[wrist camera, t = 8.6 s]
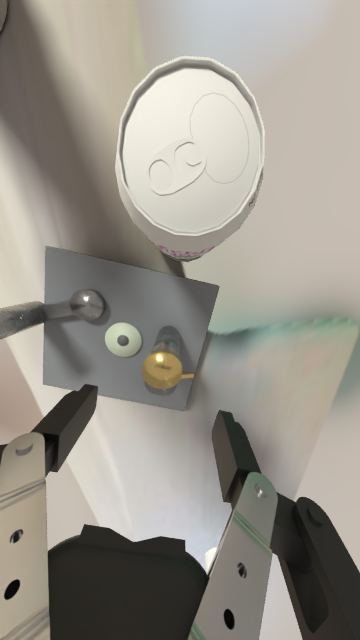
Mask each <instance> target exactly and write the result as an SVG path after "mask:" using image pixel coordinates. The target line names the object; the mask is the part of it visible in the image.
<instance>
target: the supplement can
mask: <svg viewBox="0 0 360 640" xmlns="http://www.w3.org/2000/svg"><path fill="white" fill-rule="evenodd" d="M264 138H265V129H264V125H263V122H262V119H261V115H260V112H259V109H258V105H257V102H256V99H255V97H254V96H253V94H252V93H251V92H250V90H249V89H248V88H247V86H246V85H245V83H244V82H243V81H242V79H241V78H240V77H239V75H238V74H237V73H236V72H234V71H233V70H231V69H229V68H227V67H226V66H224V65H222V64H221V63H219V62H217V61H216V60H214V59H212V58H207V57H192V56H181V57H178V58H176V59H173V60H171V61H169V62H166V63H164V64H161V65H159V66H157V67H155V68H154V69H153V70H152V71H151V72H150V73H149V74H148V75H147V76H146V77H145V78H144V79H143V80H142V81H141V82H140V83H139V84H138V85H137V86H136V88H135V89H134V90H133V92H132V94H131V96H130V98H129V101H128V103H127V105H126V108H125V110H124V112H123V114H122V117H121V119H120V126H119V135H118V144H117V155H116V163H115V171H116V177H117V182H118V188H119V193H120V198H121V200H122V202H123V204H124V206H125V208H126V210H127V212H128V214H129V215H130V217H131V219H132V221H133V223H134V224H135V225H136V226H137V227H138V228H139V229H140V230H141V231H142V232H143V233H144V234H145V235H146V236H147V237H148V238H149V239H150V240H151V241H152V242H153V243H154V244H155V245H156V246H157V247H158V248H159V249H160V250H161V251H162V252H163V253H164V254H165V255H166V256H167V257H169V258H172V259H174V260H176V261H185V262H189V261H192V260H195V259H198V258H200V257H201V256H203V255H204V254H206V253H207V252H209V251H210V250H212V249H213V248H214V247H216V246H217V245H219V244H220V243H221V242H223V241H224V240H225V239H226V238H228V237H229V236H230V235H232V234H233V233H234V232H236V231H237V230H238V229H239V228H240V227H241V225H242V224H243V222H244V221H245V219H246V218H247V216H248V215H249V213H250V212H251V210H252V209H253V207H254V206H255V203H256V199H257V196H258V193H259V189H260V186H261V183H262V180H263V163H264Z"/></svg>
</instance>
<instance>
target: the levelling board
mask: <svg viewBox="0 0 360 640" xmlns="http://www.w3.org/2000/svg"><path fill="white" fill-rule="evenodd" d="M84 289H93V290H96V291H98V292H99V293H100V294H101V295H102V296H103V298H104V300H105V303H106V309H105V312H104V313H103V315H102V316H100V317H99V318H97V319H95V320H93V321H84V320H81V319H79V318H78V317H76V316H75V315H69V316H63V317H56V318H50V319H48V320H47V321H46V322H45V323H44V352H43V385H49V386H54V387H59V388H64V389H70V390H75V391H79V390H80V389H81V388H82V387H83V385H84V384H90V385H96V386H98V393H97V395H101V396H106V397H112V398H117V399H122V400H127V401H133V402H138V403H143V404H148V405H154V406H159V407H164V408H169V409H175V410H180V411H185V407H186V404H187V400H188V396H189V393H190V389H191V386H192V382H193V379H194V375H195V372H196V368H197V365H198V361H199V358H200V354H201V351H202V347H203V343H204V340H205V336H206V333H207V329H208V326H209V322H210V319H211V315H212V312H213V308H214V304H215V301H216V297H217V294H218V290H219V286H217V285H213V284H209V283H205V282H201V281H197V280H192V279H188V278H184V277H179V276H175V275H171V274H167V273H162V272H158V271H154V270H149V269H145V268H141V267H137V266H132V265H128V264H124V263H119V262H115V261H111V260H107V259H102V258H98V257H94V256H89V255H85V254H81V253H76V252H72V251H68V250H64V249H59V248H55V247H49V246H46V253H45V303H44V305H45V304H51V303H58V302H64V301H70V300H71V297H72V295H73V294H74V293H75V292H77V291H79V290H84ZM165 326H172V327H174V328H176V329H177V330H178V332H179V335H180V343H179V358H180V360H181V362H182V377H181V379H180V381H179V382H178V383H177V384H176V385H175V386H173V387H171V389H170V391H169V392H167V393H166V394H163V395H155V394H152V393H150V392H149V391H148V390H147V389H146V387H145V384H144V380H145V379H144V378H143V375H142V366H143V363H144V361H145V359H146V357H147V356H148V355H149V354H150V353H151V351H152V349H153V346H154V343H155V340H156V338H157V335H158V332H159V330H160V329H161V328H163V327H165Z"/></svg>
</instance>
